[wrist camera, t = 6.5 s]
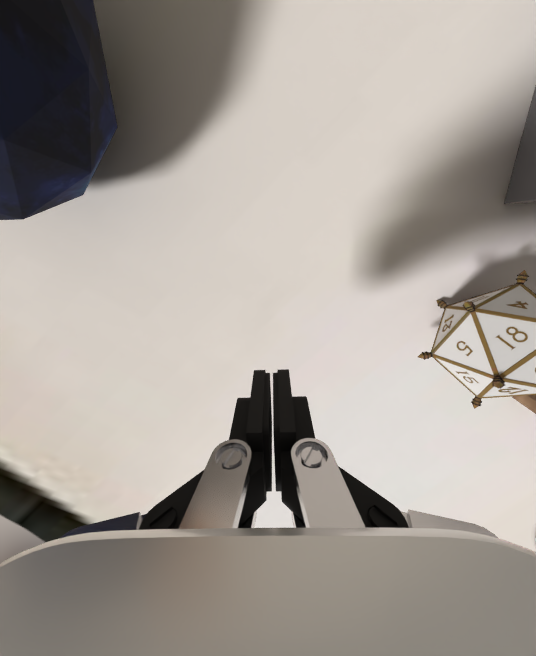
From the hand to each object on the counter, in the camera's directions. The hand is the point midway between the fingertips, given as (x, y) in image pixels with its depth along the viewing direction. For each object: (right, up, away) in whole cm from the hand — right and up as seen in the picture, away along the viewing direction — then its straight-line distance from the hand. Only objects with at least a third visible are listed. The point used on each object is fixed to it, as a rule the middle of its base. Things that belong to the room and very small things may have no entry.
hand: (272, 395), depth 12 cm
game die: (+16, +4, +9) cm, 19 cm away
